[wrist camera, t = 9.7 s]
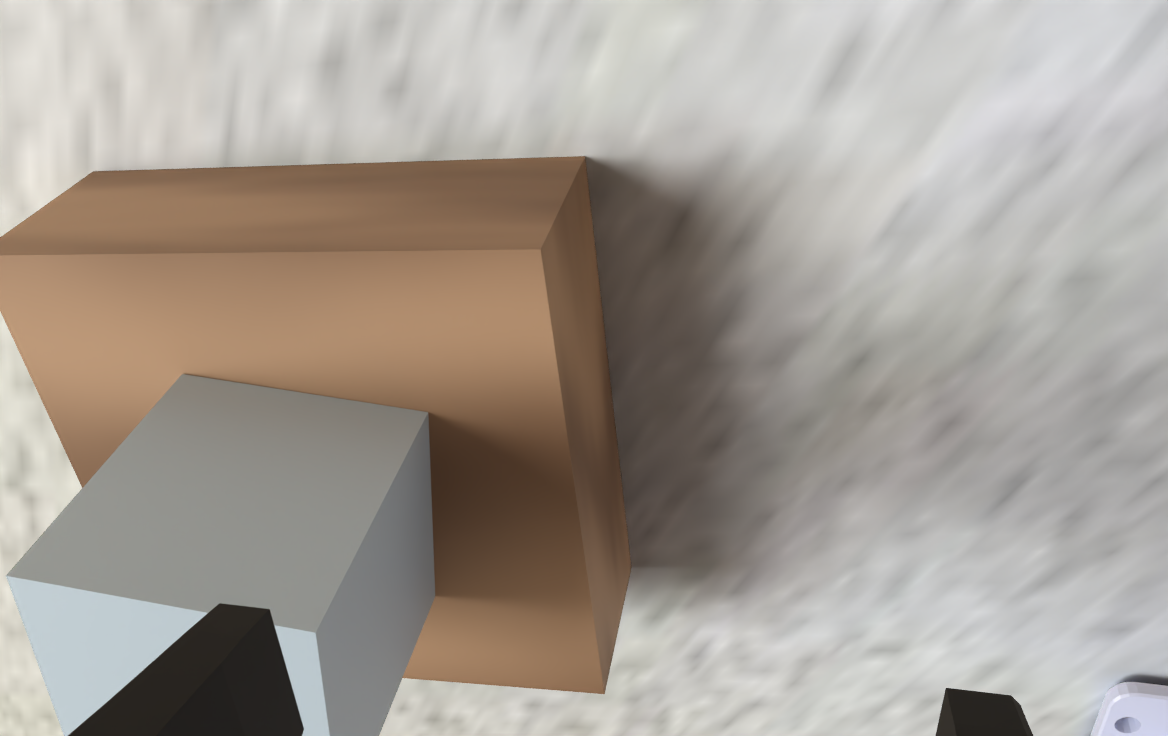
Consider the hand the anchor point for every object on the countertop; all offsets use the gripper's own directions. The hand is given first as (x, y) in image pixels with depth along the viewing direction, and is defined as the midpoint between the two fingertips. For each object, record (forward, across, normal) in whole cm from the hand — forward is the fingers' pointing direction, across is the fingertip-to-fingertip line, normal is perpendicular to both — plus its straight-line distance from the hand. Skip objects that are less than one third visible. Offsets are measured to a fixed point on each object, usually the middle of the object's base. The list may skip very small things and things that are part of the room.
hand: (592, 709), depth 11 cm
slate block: (+7, +7, +3) cm, 10 cm away
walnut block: (+11, +7, +3) cm, 13 cm away
